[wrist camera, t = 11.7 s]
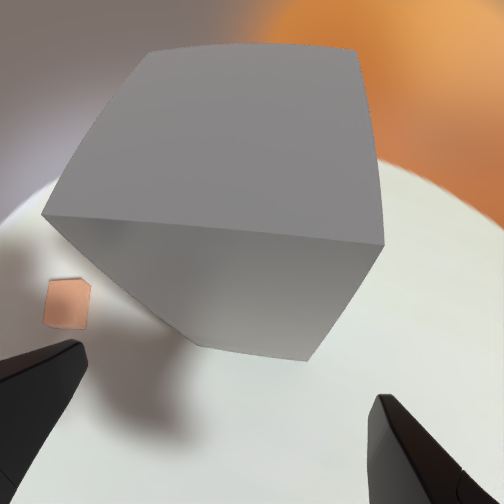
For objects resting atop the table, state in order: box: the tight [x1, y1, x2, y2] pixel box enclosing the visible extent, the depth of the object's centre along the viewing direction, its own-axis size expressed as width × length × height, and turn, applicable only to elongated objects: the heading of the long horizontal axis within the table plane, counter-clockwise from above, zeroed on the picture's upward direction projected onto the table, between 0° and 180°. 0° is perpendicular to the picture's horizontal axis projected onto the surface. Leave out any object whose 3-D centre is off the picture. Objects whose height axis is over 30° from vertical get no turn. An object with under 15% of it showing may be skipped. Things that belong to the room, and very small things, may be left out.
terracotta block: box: [43, 279, 91, 329], centre depth 18 cm, size 3×3×2 cm
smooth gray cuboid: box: [41, 43, 385, 361], centre depth 12 cm, size 6×6×13 cm
